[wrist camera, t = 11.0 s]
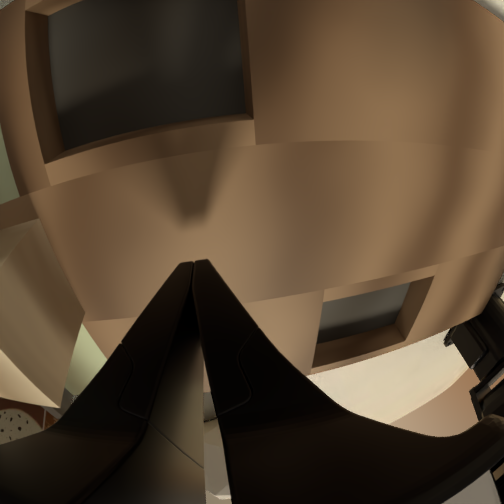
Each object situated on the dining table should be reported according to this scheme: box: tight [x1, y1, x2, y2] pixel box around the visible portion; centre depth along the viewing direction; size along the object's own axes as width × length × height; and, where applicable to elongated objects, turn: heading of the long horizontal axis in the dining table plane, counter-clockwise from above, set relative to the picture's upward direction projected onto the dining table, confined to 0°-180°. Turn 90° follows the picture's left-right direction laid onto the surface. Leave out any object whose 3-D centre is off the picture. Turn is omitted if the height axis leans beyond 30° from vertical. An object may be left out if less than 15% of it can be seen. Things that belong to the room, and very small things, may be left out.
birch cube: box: [0, 218, 85, 408], centre depth 7 cm, size 4×4×4 cm
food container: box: [0, 397, 59, 444], centre depth 15 cm, size 12×6×10 cm, turn 99°
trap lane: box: [0, 0, 504, 419], centre depth 9 cm, size 32×20×4 cm, turn 94°
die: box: [203, 419, 231, 499], centre depth 20 cm, size 8×9×10 cm
